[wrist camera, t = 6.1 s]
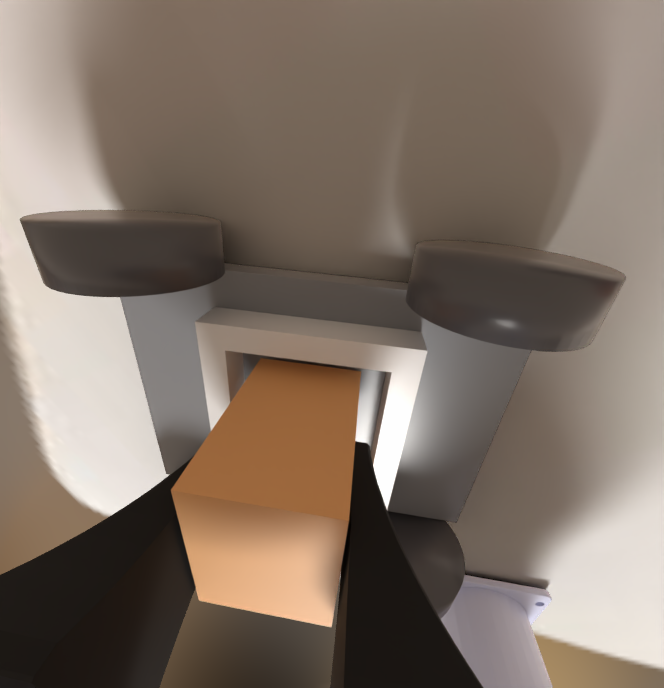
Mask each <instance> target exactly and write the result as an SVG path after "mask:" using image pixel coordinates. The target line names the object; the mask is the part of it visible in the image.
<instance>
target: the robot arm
mask: <svg viewBox="0 0 664 688" xmlns="http://www.w3.org/2000/svg"><path fill="white" fill-rule="evenodd" d="M193 457H194V456H193ZM193 457H192V458H193ZM192 458H190V459H189V460H188V461H187V462H186V463H185V464H183V465H182V466H181V467H180V468H178V469H177V470H176V471H174V472H173V473H172V474H171V475H169V476H168V477H167V478H165V479H164V480H163V481H161V482H160V483H159V484H157V485H156V486H155V487H153V488H152V489H151V490H149V491H148V492H146V493H145V494H144V495H142V496H141V497H139V498H138V499H136V500H135V501H133V502H132V503H130V504H129V505H127V506H126V507H124V508H123V509H121V510H119V511H118V512H116V513H115V514H113V515H112V516H110V517H108V518H107V519H105V520H103V521H102V522H100V523H98V524H97V525H95V526H93V527H92V528H90V529H88V530H87V531H85V532H83V533H81V534H80V535H78V536H76V537H74V538H72V539H70V540H69V541H67V542H65V543H63V544H61V545H60V546H58V547H56V548H54V549H52V550H50V551H48V552H46V553H44V554H42V555H41V556H38V557H37V558H35V559H33V560H31V561H29V562H27V563H24V564H22V565H20V566H18V567H16V568H14V569H12V570H10V571H8V572H6V573H4V574H1V575H0V688H159V687H160V684H161V681H162V678H163V675H164V672H165V669H166V667H167V664H168V661H169V658H170V655H171V652H172V649H173V647H174V644H175V641H176V638H177V635H178V633H179V630H180V627H181V624H182V622H183V619H184V617H185V614H186V611H187V608H188V606H189V603H190V600H191V598H192V595H193V593H194V590H195V588H196V586H195V582H194V578H193V575H192V571H191V567H190V563H189V559H188V555H187V551H186V547H185V543H184V540H183V536H182V532H181V528H180V524H179V520H178V516H177V512H176V508H175V505H174V501H173V497H172V493H171V489H172V488H173V486H174V485H175V483H176V482H177V480H178V479H179V477H180V476H181V475H182V473H183V472H184V470H185V469H186V467H187V466H188V464H189V463H190V461H191V460H192ZM551 600H552V599H551V596H550V594H549V592H548V591H547V590H545V589H540V588H535V587H529V586H524V585H518V584H513V583H507V582H502V581H496V580H491V579H485V578H480V577H474V576H468V575H464V579H463V583H462V586H461V588H460V590H459V592H458V594H457V596H456V598H455V600H454V601H453V603H452V605H451V607H450V609H449V610H448V612H447V613H446V614H445V615H444V616H443V617H442V618H441V619H440V618H439V616H438V614H437V612H436V610H435V609H434V607H433V605H432V603H431V601H430V600H429V598H428V596H427V594H426V592H425V591H424V589H423V587H422V585H421V583H420V581H419V580H418V578H417V576H416V574H415V572H414V570H413V568H412V566H411V564H410V562H409V560H408V558H407V556H406V553H405V551H404V549H403V547H402V545H401V543H400V540H399V538H398V536H397V534H396V531H395V529H394V526H393V524H392V521H391V519H390V516H389V514H388V511H387V508H386V506H385V503H384V500H383V497H382V494H381V491H380V488H379V485H378V482H377V478H376V475H375V471H374V467H373V463H372V458H371V453H370V446H369V445H368V443H364V442H357V441H355V452H354V464H353V477H352V489H351V501H350V514H349V523H348V530H347V536H346V542H345V548H344V554H343V560H342V566H341V578H340V593H339V604H338V614H337V625H336V636H335V645H334V656H333V665H332V675H331V685H330V688H553V687H552V684H551V681H550V678H549V675H548V673H547V670H546V667H545V664H544V661H543V659H542V656H541V653H540V650H539V647H538V644H537V642H536V639H535V636H534V633H533V630H532V628H531V625H532V623H533V622H534V621H535V620H536V619H537V617H538V616H539V615H540V614H541V613H542V611H543V610H544V609H545V608H546V607H547V605H548V604H549V603H550V602H551Z"/></svg>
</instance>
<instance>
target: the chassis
mask: <svg viewBox="0 0 664 688" xmlns="http://www.w3.org/2000/svg"><path fill="white" fill-rule="evenodd" d="M20 222H21V224H22V227H23V230H24V232H25V235H26V238H27V240H28V243H29V246H30V248H31V251H32V254H33V256H34V259H35V262H36V264H37V267H38V270H39V272H40V275H41V278H42V280H43V283H44V284H45V285H46V286H47V287H49V288H51V289H53V290H56V291H59V292H64V293H68V294H75V295H83V296H96V297H120V298H121V302H122V306H123V310H124V314H125V317H126V321H127V325H128V329H129V333H130V337H131V340H132V344H133V348H134V352H135V356H136V360H137V363H138V367H139V371H140V375H141V379H142V383H143V386H144V390H145V394H146V398H147V402H148V406H149V409H150V413H151V417H152V421H153V425H154V429H155V432H156V436H157V440H158V444H159V448H160V452H161V455H162V459H163V463H164V467H165V471H166V474H170V475H171V474H172V473H173V472H174V471H176V470H177V469H178V468H180V467H181V466H182V465H183V464H185V463H186V462H187V461H188V460H189V459H190V458H192V457H193V456H194V455H195V454H196V453H197V451H198V450H199V448H200V447H201V445H202V444H203V442H204V441H205V439H206V438H207V436H208V435H209V433H210V432H211V431H212V429H213V428H214V426H215V425H216V423H217V422H218V420H219V419H220V417H221V416H222V414H223V413H224V411H225V410H226V409H227V407H228V406H229V404H230V403H231V401H232V400H233V398H234V397H235V395H236V394H237V392H238V391H239V389H240V388H241V387H242V385H243V384H244V382H245V381H246V379H247V378H248V376H249V375H250V373H251V372H252V370H253V369H254V367H255V366H256V365H257V363H258V362H259V360H260V359H261V358H264V359H272V360H279V361H287V362H294V363H302V364H309V365H317V366H324V367H332V368H339V369H347V370H354V371H361V377H360V390H359V402H358V415H357V427H356V439H355V441H357V442H364V443H368V445H369V446H370V453H371V458H372V463H373V467H374V471H375V475H376V478H377V482H378V485H379V488H380V491H381V494H382V497H383V500H384V503H385V506H386V508H387V511H388V514H389V516H390V519H391V521H392V524H393V526H394V529H395V531H396V534H397V536H398V538H399V540H400V543H401V545H402V547H403V549H404V551H405V553H406V556H407V558H408V560H409V562H410V564H411V566H412V568H413V570H414V572H415V574H416V576H417V578H418V580H419V581H420V583H421V585H422V587H423V589H424V591H425V592H426V594H427V596H428V598H429V600H430V601H431V603H432V605H433V607H434V609H435V610H436V612H437V614H438V616H439V618H440V619H441V618H442V617H443V616H444V615H445V614H446V613H447V612H448V610H449V609H450V607H451V605H452V603H453V601H454V600H455V598H456V596H457V594H458V592H459V590H460V588H461V586H462V583H463V579H464V574H465V562H464V556H463V552H462V549H461V546H460V543H459V541H458V539H457V537H456V535H455V534H454V532H453V531H452V529H451V528H450V526H449V525H448V524H447V523H446V521H450V522H457V520H458V518H459V515H460V513H461V511H462V509H463V506H464V504H465V502H466V499H467V497H468V495H469V492H470V490H471V488H472V486H473V483H474V481H475V479H476V476H477V474H478V472H479V469H480V467H481V465H482V463H483V460H484V458H485V456H486V453H487V451H488V449H489V447H490V444H491V442H492V440H493V437H494V435H495V433H496V430H497V428H498V426H499V424H500V421H501V419H502V417H503V414H504V412H505V410H506V407H507V405H508V403H509V401H510V398H511V396H512V394H513V391H514V389H515V387H516V385H517V382H518V380H519V378H520V375H521V373H522V371H523V368H524V366H525V364H526V362H527V359H528V357H529V355H530V352H531V350H535V351H551V352H558V351H572V350H578V349H581V348H584V347H586V346H588V345H590V344H591V342H592V341H593V339H594V337H595V336H596V334H597V332H598V330H599V328H600V326H601V324H602V322H603V321H604V319H605V317H606V315H607V313H608V311H609V309H610V308H611V306H612V304H613V302H614V300H615V298H616V296H617V294H618V293H619V291H620V289H621V287H622V285H623V283H624V281H625V279H626V276H625V275H624V274H623V273H621V272H619V271H617V270H615V269H613V268H610V267H607V266H604V265H601V264H598V263H594V262H591V261H587V260H583V259H579V258H575V257H571V256H566V255H561V254H557V253H552V252H546V251H541V250H535V249H529V248H523V247H516V246H509V245H502V244H494V243H484V242H474V241H459V240H430V241H423V242H419V243H417V245H416V248H415V253H414V258H413V264H412V269H411V274H410V279H409V283H404V282H394V281H385V280H376V279H367V278H357V277H348V276H339V275H330V274H321V273H311V272H302V271H293V270H284V269H274V268H265V267H256V266H247V265H238V264H228V263H224V254H223V242H222V231H221V222H220V221H219V220H217V219H214V218H210V217H205V216H199V215H192V214H183V213H172V212H157V211H135V210H79V211H59V212H47V213H39V214H32V215H27V216H24V217H22V218H20Z"/></svg>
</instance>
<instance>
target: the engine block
mask: <svg viewBox="0 0 664 688" xmlns="http://www.w3.org/2000/svg"><path fill="white" fill-rule="evenodd" d="M360 377H361V371H354V370H347V369H339V368H332V367H324V366H317V365H309V364H302V363H294V362H287V361H279V360H272V359H264V358H261V359H260V360H259V362H258V363H257V365H256V366H255V367H254V369H253V370H252V372H251V373H250V375H249V376H248V378H247V379H246V381H245V382H244V384H243V385H242V387H241V388H240V389H239V391H238V392H237V394H236V395H235V397H234V398H233V400H232V401H231V403H230V404H229V406H228V407H227V409H226V410H225V411H224V413H223V414H222V416H221V417H220V419H219V420H218V422H217V423H216V425H215V426H214V428H213V429H212V431H211V432H210V433H209V435H208V436H207V438H206V439H205V441H204V442H203V444H202V445H201V447H200V448H199V450H198V451H197V453H196V454H195V455H194V457H193V458H192V460H191V461H190V463H189V464H188V466H187V467H186V469H185V470H184V472H183V473H182V475H181V476H180V477H179V479H178V480H177V482H176V483H175V485H174V486H173V488H172V489H171V493H172V497H173V501H174V505H175V508H176V512H177V516H178V520H179V524H180V528H181V532H182V536H183V540H184V543H185V547H186V551H187V555H188V559H189V563H190V567H191V571H192V575H193V578H194V582H195V586H196V590H197V594H198V598H199V601H204V602H208V603H213V604H218V605H224V606H228V607H233V608H238V609H243V610H249V611H254V612H259V613H263V614H268V615H273V616H278V617H283V618H288V619H293V620H298V621H303V622H308V623H313V624H318V625H323V626H328V627H332V620H333V614H334V608H335V602H336V596H337V590H338V584H339V578H340V572H341V566H342V560H343V554H344V548H345V542H346V536H347V530H348V523H349V514H350V501H351V489H352V477H353V464H354V452H355V439H356V427H357V415H358V402H359V390H360Z"/></svg>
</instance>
